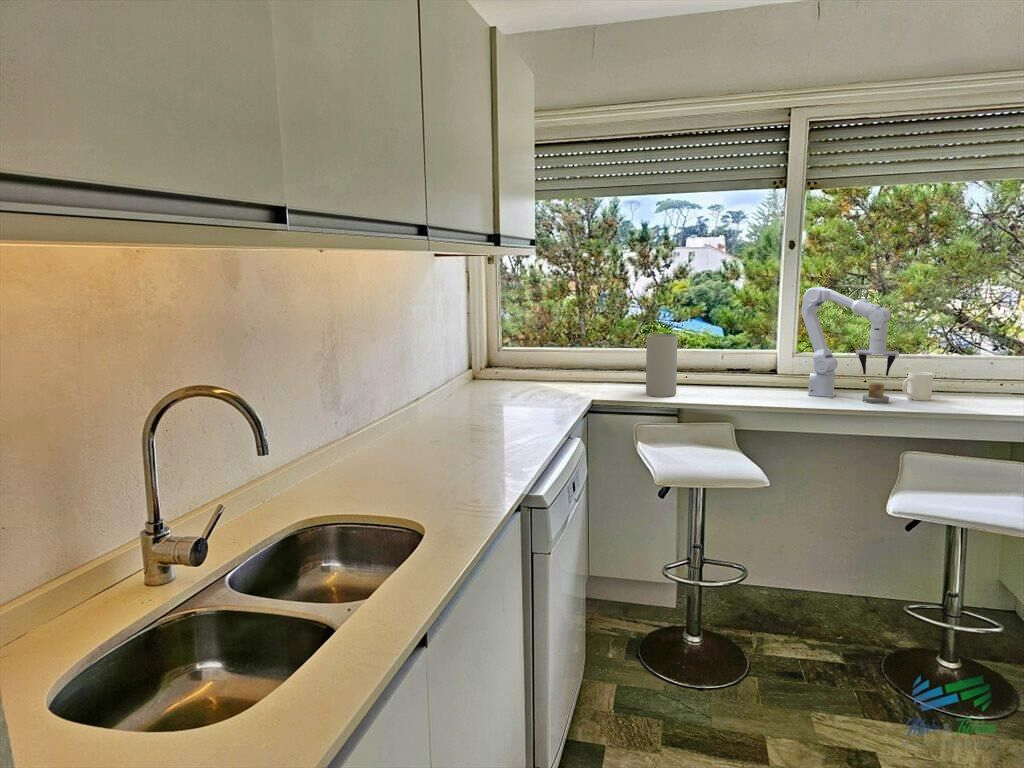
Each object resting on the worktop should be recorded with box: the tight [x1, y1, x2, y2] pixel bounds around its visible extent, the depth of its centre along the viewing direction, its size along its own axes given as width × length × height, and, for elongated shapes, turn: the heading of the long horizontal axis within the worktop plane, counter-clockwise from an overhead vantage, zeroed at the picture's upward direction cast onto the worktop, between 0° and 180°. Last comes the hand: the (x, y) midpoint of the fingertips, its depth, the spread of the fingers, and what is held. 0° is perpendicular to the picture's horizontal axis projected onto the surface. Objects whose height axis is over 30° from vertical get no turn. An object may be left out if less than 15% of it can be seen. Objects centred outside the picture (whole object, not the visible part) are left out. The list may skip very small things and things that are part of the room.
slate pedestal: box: [862, 393, 890, 404], centre depth 262 cm, size 9×9×2 cm
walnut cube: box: [868, 382, 885, 398], centre depth 261 cm, size 5×5×5 cm
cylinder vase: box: [645, 333, 678, 398], centre depth 283 cm, size 12×12×25 cm
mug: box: [901, 371, 934, 401], centre depth 264 cm, size 12×8×10 cm
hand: (875, 374), depth 262 cm, fingers open, 7 cm apart
